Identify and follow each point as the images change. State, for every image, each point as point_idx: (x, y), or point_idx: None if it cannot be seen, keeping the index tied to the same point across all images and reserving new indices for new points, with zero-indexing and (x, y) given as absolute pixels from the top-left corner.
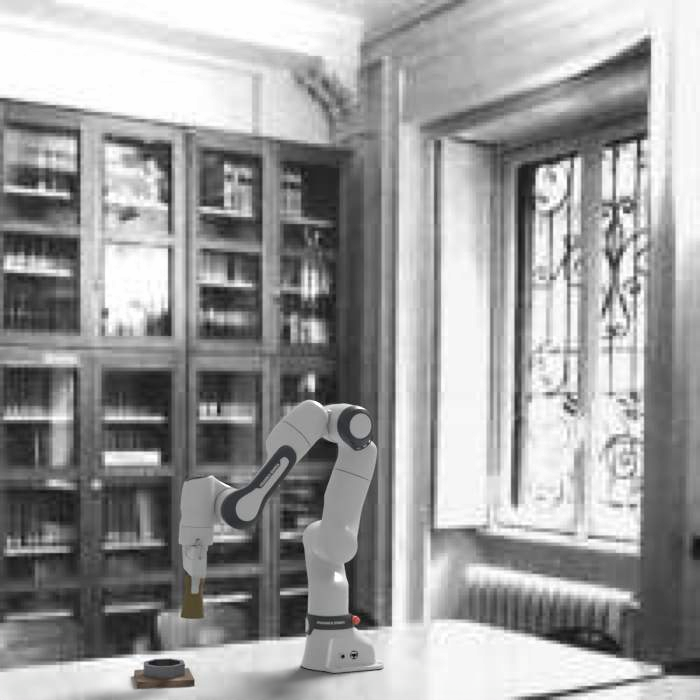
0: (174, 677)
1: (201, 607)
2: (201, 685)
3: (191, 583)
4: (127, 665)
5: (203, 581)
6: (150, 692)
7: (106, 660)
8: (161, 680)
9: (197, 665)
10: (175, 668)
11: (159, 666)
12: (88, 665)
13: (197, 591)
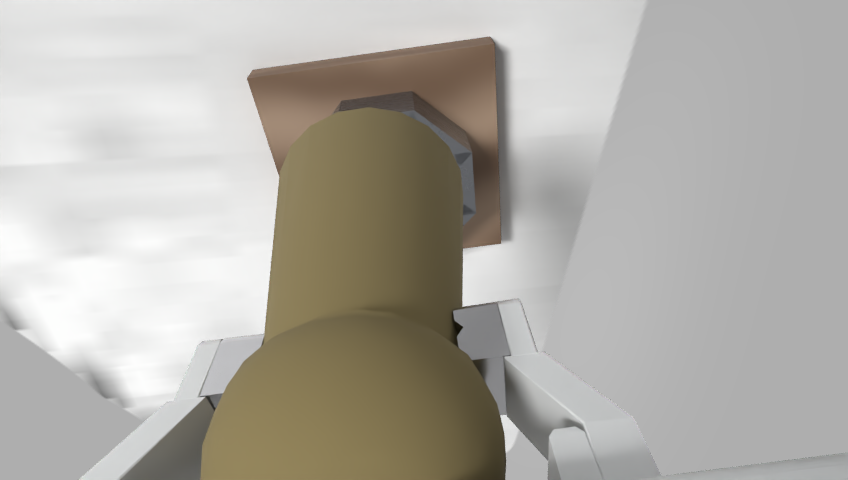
0: (464, 131)
1: (423, 172)
2: (482, 4)
3: (538, 447)
4: (145, 288)
5: (413, 355)
6: (562, 190)
7: (85, 347)
8: (488, 173)
9: (54, 31)
10: (463, 143)
11: (463, 207)
12: (177, 376)
13: (522, 316)
